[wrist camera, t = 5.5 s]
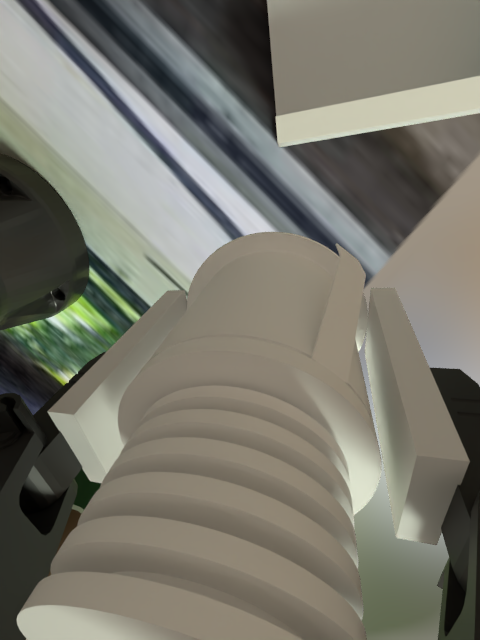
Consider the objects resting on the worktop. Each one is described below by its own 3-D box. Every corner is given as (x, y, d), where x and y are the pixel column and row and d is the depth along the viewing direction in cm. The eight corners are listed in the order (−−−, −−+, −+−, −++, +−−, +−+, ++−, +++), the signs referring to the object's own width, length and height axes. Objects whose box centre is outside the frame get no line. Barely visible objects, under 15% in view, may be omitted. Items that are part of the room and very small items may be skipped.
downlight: (279, 413, 15) (233, 770, 6) (158, 330, 14) (-85, 619, 5) (420, 300, 11) (809, 868, 2) (263, 173, 10) (-51, 342, 1)
